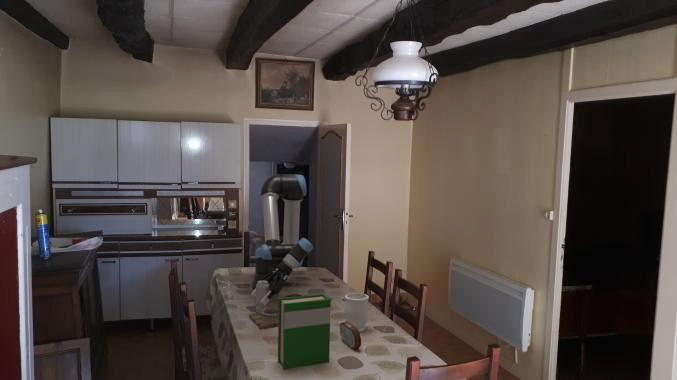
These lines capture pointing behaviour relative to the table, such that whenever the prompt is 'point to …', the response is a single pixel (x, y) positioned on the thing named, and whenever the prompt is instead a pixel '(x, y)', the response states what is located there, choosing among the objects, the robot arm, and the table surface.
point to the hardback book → (304, 330)
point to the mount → (266, 318)
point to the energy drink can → (261, 295)
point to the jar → (356, 310)
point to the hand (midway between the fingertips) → (257, 299)
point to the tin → (350, 335)
